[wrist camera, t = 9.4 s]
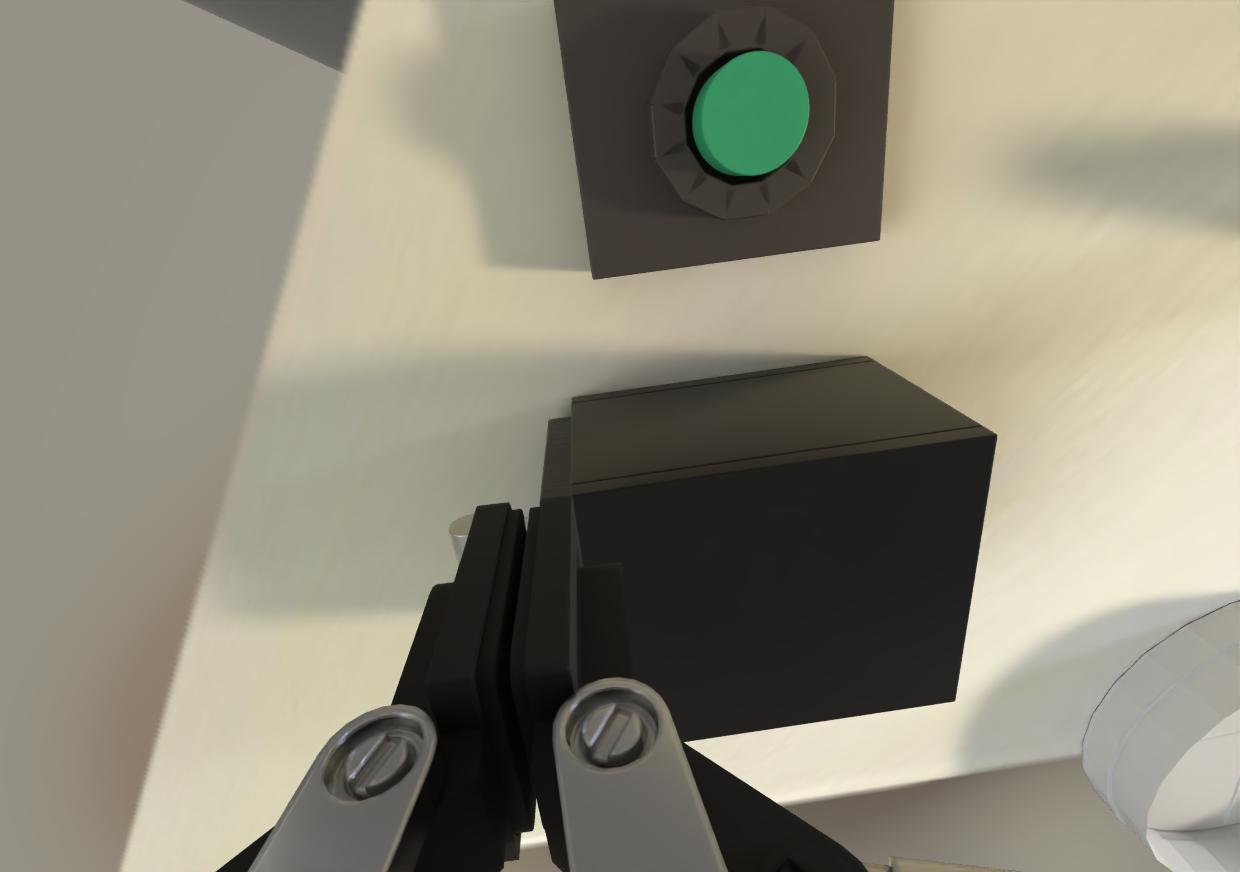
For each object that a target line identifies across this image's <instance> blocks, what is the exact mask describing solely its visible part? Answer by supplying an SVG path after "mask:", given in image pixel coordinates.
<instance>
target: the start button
mask: <svg viewBox="0 0 1240 872" xmlns="http://www.w3.org/2000/svg"><path fill="white" fill-rule="evenodd" d="M809 109H810V108H809V97H808V91H807V88H806V85H805V82H804V80H803V78H802V76H801V75H800V73H799V71H798V70H797V69H796V68H795V66H794V65H793V64H792V63H791V62H789V61H788V60H787V59H785V58H784V57H782V56H780V55H778V54H776V53H772V52H768V51H752V52H748V53H745V54H742V55H739V56H737V57H736V58H734V59H732V60H731V61H729V62H728V63H727V64H725V65H724V66H723V67H721V68H720V69H719V70H717V71H716V72H715V73H714V74H713V75H712V76H711V77H710V78H709V79H708V80H707V81H706V82H705V84H704V85H703V87H702V88H701V90H700V92H699V94H698V96H697V99H696V102H695V105H694V110H693V117H692V129H693V136H694V140H695V143H696V146H697V148H698V150H699V152H700V154H701V155H702V157H703V158H704V159H705V160H706V162H707V163H708V164H709V165H711V166H712V167H713V168H714V169H716V170H718V171H720V172H722V173H724V174H728V175H733V176H754V175H761V174H765V173H768V172H770V171H772V170H774V169H776V168H778V167H779V166H781V165H782V164H783V163H785V162H786V161H787V160H788V159H789V158H790V157H791V156H792V155H793V153H794V152H795V151H796V149H797V148H798V146H799V145H800V143H801V141H802V139H803V137H804V134H805V131H806V128H807V125H808V119H809Z"/></svg>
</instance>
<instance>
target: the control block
mask: <svg viewBox="0 0 1240 872" xmlns="http://www.w3.org/2000/svg"><path fill="white" fill-rule="evenodd" d="M554 6H555V13H556V20H557V28H558V35H559V42H560V49H561V56H562V64H563V71H564V78H565V85H566V92H567V100H568V107H569V114H570V121H571V128H572V136H573V143H574V150H575V157H576V164H577V171H578V179H579V186H580V193H581V200H582V207H583V215H584V222H585V229H586V236H587V243H588V251H589V258H590V265H591V272H592V277H593V279H594V280H595V279H603V278H610V277H617V276H624V275H632V274H639V273H646V272H654V271H661V270H668V269H675V268H683V267H690V266H697V265H705V264H712V263H719V262H726V261H734V260H741V259H748V258H755V257H763V256H770V255H777V254H785V253H792V252H799V251H806V250H814V249H821V248H828V247H835V246H843V245H850V244H857V243H865V242H872V241H879V240H880V233H881V216H882V199H883V182H884V165H885V148H886V130H887V113H888V96H889V79H890V62H891V45H892V28H893V11H894V0H554ZM752 51H768V52H772V53H776V54H778V55H780V56H782V57H784V58H785V59H787V60H788V61H789V62H791V63H792V64H793V65H794V66H795V68H796V69H797V70H798V71H799V73H800V75H801V76H802V78H803V80H804V82H805V85H806V88H807V91H808V97H809V108H810V109H809V119H808V125H807V128H806V131H805V134H804V137H803V139H802V141H801V143H800V145H799V146H798V148H797V149H796V151H795V152H794V153H793V155H792V156H791V157H790V158H789V159H788V160H787V161H786V162H785V163H783V164H782V165H781V166H779V167H778V168H776V169H774V170H772V171H770V172H768V173H765V174H761V175H754V176H733V175H728V174H724V173H722V172H720V171H718V170H716V169H714V168H713V167H712V166H711V165H709V164H708V163H707V162H706V160H705V159H704V158H703V157H702V155H701V154H700V152H699V150H698V148H697V146H696V143H695V140H694V136H693V129H692V117H693V110H694V105H695V102H696V99H697V96H698V94H699V92H700V90H701V88H702V87H703V85H704V84H705V82H706V81H707V80H708V79H709V78H710V77H711V76H712V75H713V74H714V73H715V72H716V71H717V70H719V69H720V68H721V67H723V66H724V65H725V64H727V63H728V62H729V61H731V60H732V59H734V58H736V57H737V56H739V55H742V54H745V53H748V52H752Z"/></svg>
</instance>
